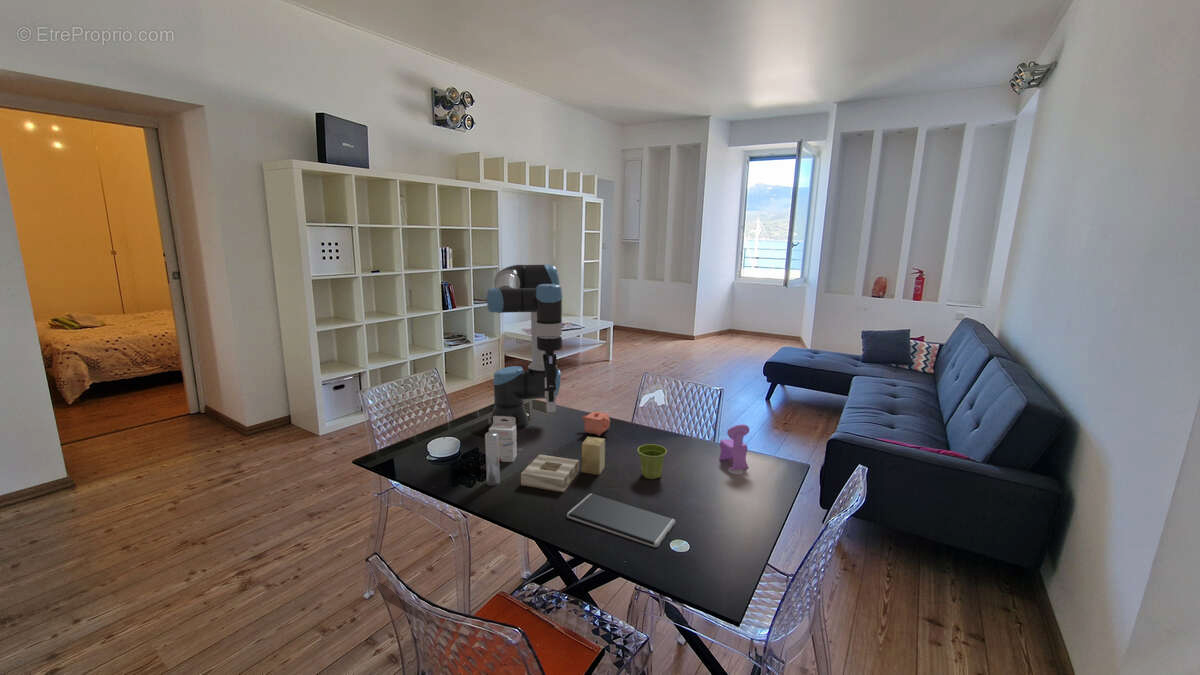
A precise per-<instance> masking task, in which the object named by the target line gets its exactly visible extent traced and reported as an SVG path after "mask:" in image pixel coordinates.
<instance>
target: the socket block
mask: <svg viewBox="0 0 1200 675" xmlns="http://www.w3.org/2000/svg"><path fill="white" fill-rule="evenodd" d="M579 472H580V460H579V459H572V458H567V457H566V458H565V457H558V456H552V455H545V454H538V455H537V456H536V457H535V459H534V460H532V461H531V462H530V464H528V466H526V468H524V470H523V471H522V472H520V486H525V487H530V488H537V489H543V490H548V491H555V492H558V493H559V492H561V493H565V491H566V489H567V488H569V485H570V484H571V483H572V482H573V480H574V479H575V478H576V476H578V474H579Z"/></svg>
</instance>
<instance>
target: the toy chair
mask: <svg viewBox="0 0 1200 675" xmlns="http://www.w3.org/2000/svg"><path fill="white" fill-rule="evenodd" d="M726 433H727V436H728V439H720V441H719V447H720V453H719V458H718V460H719V461H723V460H725V461H726V460H731V459H733V462H732V468H731V471H737V470H743V469H749V466H748V463H747V459H746V458H747V453H748V444H746V443H744V442H743V441H744V440H743V439H744V437H745V436H747V435H748V434H749V433H750V426H748V425H747V424H737V425H733V426H732V427H730V428H728V429H727V431H726Z"/></svg>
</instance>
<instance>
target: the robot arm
mask: <svg viewBox="0 0 1200 675" xmlns="http://www.w3.org/2000/svg"><path fill="white" fill-rule="evenodd" d="M493 286H494V288H489V289H487V291H486V302H487V303H486V304H487V305H486V307H487V310H488V312H489V313H497V314H504V313H530V330H531V332H530V333H531V334H530V335H531V336H530V337H531V339H530V340H531V362H530V363H529V365H528V366H527V370H524V369H523V367H522V366H519V365H518V366H517V365H516V366H515V365H514V366H507V367H504V368H500V369H498V370H495V372H494V374H493V382H492V384H493V397H494V398H493V399H494V407H493V410H492V413H491V417H490V427H491V426H492V425H493V416H505V417H515V420H516V431H517V430H521V429H524V428H525V427H526V426H527V425H528V424H529V416H528V413H527V412H526V408H525V406H524V400H535V399H536V400H538V399H540V400H541V399H545V400H546V401H545V402H546V404H545V406H546V407H545V408H546V413H551V412H553V413H554V412H555V413H556V412H557V404H556V402H557V401H556V399H557V398H556V397H558V395H559V393H560V386H561V375H562V374H561V370H560V369H559V368H558V365H557V354H556V353H554V352H556V351H560V350H562V348H563V337H562V336H561V335H562V334H563V331H562V329H564V328H565V326H564V325H563V324H562V322H563V320H562V317H563V314H562V311H563V309H562V308H563V307H562V306H563V294H562V287H561V284H560V278H559V273H558V269H557V267H556V266H555V265H554V264H553V265H551V264H545V263H544V264H513V265H510V266H507V267H505V268H503V269H501V270H499V271H498V272H497V273H496V275H495V277H494V280H493ZM500 421H508V420H505V419H501V420H500Z"/></svg>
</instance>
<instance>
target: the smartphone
mask: <svg viewBox="0 0 1200 675" xmlns="http://www.w3.org/2000/svg"><path fill="white" fill-rule="evenodd" d="M566 517H567V518H568V519H571V520H573V521H576V522H579V523H582V524H585V525H587V526H591V527H594V528H597V529H599V530H602V531H605V532H609V533H611V534H614V535H617V536H619V537H623V538H626V539H628V540H629V539H630V540H631V541H635V542H638V543H641V544H644V545H646V546H650V547H652V548H658V547H660V545H661V543H662V542H663V541H664V540H665V538H666V537H667V534H669V533H670V532H671V530H672V528H673V527H674V526H675V525H676V519H674V518H672V517H669V516H666V515H662V514H660V513H656V512H653V511H651V510H646V509H643V508H641V507H636V506H635V505H634V506H633V505H630V504H628V503H624V502H620V501H618V500H615V499H611V498H609V497H604V496H601V495H599V494H595V493H589V494H587V495H586V496H585V497H584V498H583V499H582V500H581V501H579V502H578V503H577V504H576V505H575V506H573V507H572V508H571V509H570V510H569V511H568V512H567V513H566Z"/></svg>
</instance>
